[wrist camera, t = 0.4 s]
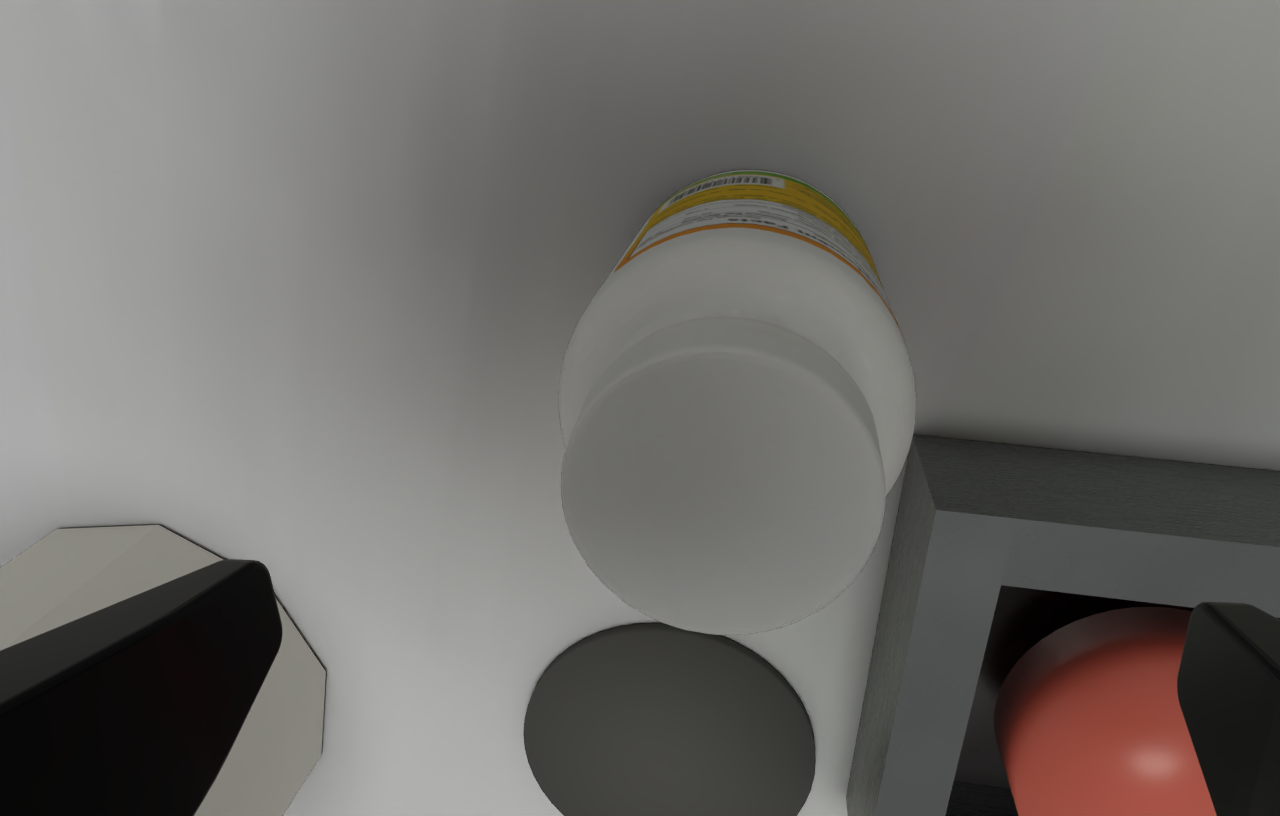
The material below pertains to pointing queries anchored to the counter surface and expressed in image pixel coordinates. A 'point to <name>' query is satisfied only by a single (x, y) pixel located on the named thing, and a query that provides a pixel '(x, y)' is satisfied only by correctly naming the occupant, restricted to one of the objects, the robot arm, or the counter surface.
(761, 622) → the supplement bottle
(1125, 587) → the grey square tray
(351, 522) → the counter surface
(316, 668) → the toilet paper
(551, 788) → the coaster
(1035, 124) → the counter surface
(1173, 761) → the button
